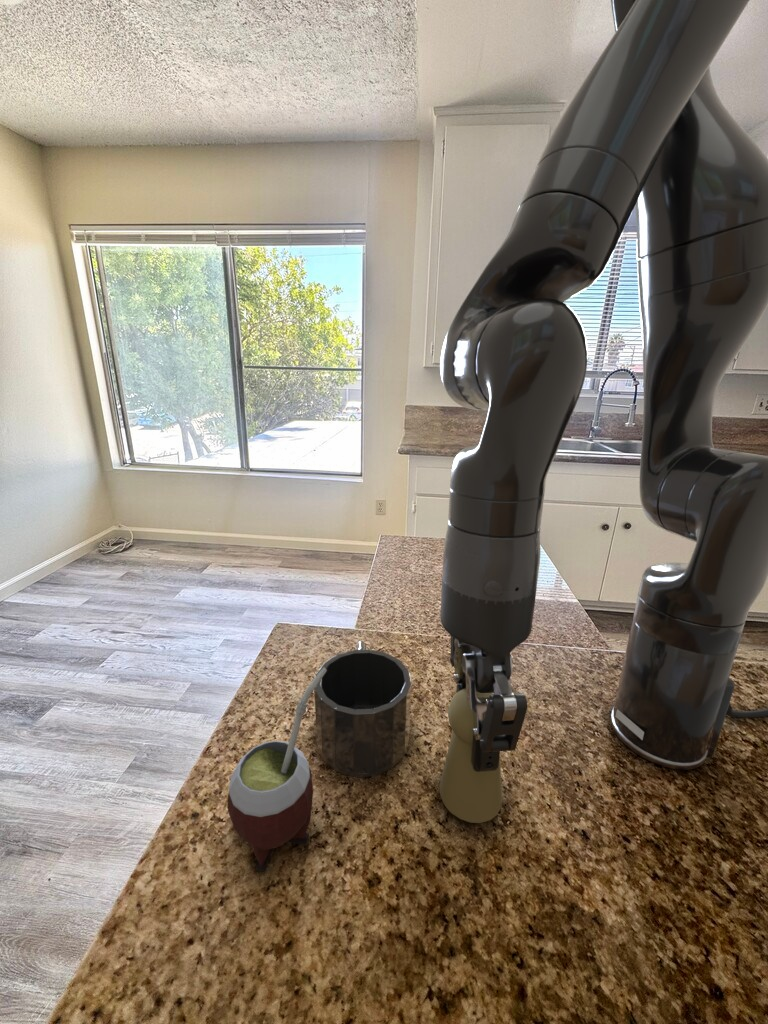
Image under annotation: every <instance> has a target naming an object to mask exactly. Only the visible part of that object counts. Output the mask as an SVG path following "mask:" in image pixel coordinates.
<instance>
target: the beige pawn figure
mask: <svg viewBox="0 0 768 1024" xmlns="http://www.w3.org/2000/svg"><path fill="white" fill-rule="evenodd" d="M490 695H494V693H479V692H477V691H476V697H477V698H480V697H489V696H490ZM485 714H486V712H484V713H483V715H482V718H483V723H484V718H485ZM447 715H448V722H449V726H450V728H451V735H450V740H449V743H448V748H447V753H446V757H445V761H444V765H443V770H442V774H441V778H440V782H439V786H438V787H439V796H440V798H441V800H442V803H443V805H444V806H445V808H447V810H448V811H449V812H450V813H451V814H452V815H454V816H455V817H456V818H458V819H459V820H462V821H465V822H467V823H471V824H472V823H473V824H482V823H485V822H489V821H491V820H492V819H494V818H495V817H496V816H498V814H499V812H500V811H501V808H502V805H503V790H502V789H503V788H502V772H501V771H502V769H501V755H500V756H499V765H498V768H497V769H496V770H495V771H482V772H476V771H475V770H474V769H473V766H472V763H471V756H472V744H473V729H474V728H473V711H472V710H471V709H470V707H469V706H468V705H467V698H466V688H465V689H462V690H460V691H458V692H457V693H456V692H455V694H454V695H453V696H452V697H451V699H450V702H449V705H448V708H447Z"/></svg>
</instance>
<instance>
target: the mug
mask: <svg viewBox="0 0 768 1024" xmlns="http://www.w3.org/2000/svg"><path fill="white" fill-rule="evenodd" d="M323 667H324V668H326V670H327V671H326V673H325V674H324V676H323V677H322V678H321V680H320V681H319V683H318V684H317V686H316V687H315V689H314V690H313V692H314V714H315V738H316V739H315V740H316V745H317V749H318V752H319V755H320V757H321V758H322V760H323V761H324V763H325V764H326V765H328V767H330V768H331V769H333V770H334V771H336V772H337V773H339V774H342V775H345V776H349V777H355V778H368V777H369V778H370V777H374V776H379V775H381V774H384V773H385V772H388V771H389V770H391V769H392V768H394V767H395V766H396V765H397V764H399V762H400V761H402V759H403V757H404V755H405V754H406V752H407V750H408V745H409V740H410V730H411V728H410V727H411V705H412V678H411V674H410V670H409V669H408V668H407V667H406V665H405V664H404V663H403V662H402V661H401V660H400V659H399V658H397V657H396V656H393V655H391V654H390V653H387V652H384V651H380V650H375V649H367V645H366V642H365V641H362V640H359V641H358V642H357V644H356V649H352V650H348V651H344V652H342V653H338V654H335V655H334V656H332V657H331V658H329V659H328V660H326V661H325V662H323V664H321V666H320V668H319V669H318V671H316V673H315V677H316V676H317V675H318V673H319V672H320V671H321V670H322V668H323Z"/></svg>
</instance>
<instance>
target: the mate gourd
mask: <svg viewBox="0 0 768 1024" xmlns="http://www.w3.org/2000/svg"><path fill="white" fill-rule="evenodd" d="M326 671H327V670H326V668H324V667H323V668H322V670H321V671H320V672H319V673H318V675H317V676H316V675H315V676H314V679H313V680H312V681H311V682H310V684H308V686H307V687H306V689H305V691H304V693H303V695H302V696H301V698H300V699H299V700H298V702H297V705H296V708H295V716H294V720H293V725H292V728H291V733H290V736H289V741H283V740H270V741H264V742H262V743H260V744H257V745H256V746H253V747H252V748H251V749H250V750H248V752H247V753H245V754H244V755H243V756H242V757H241V758H240V760H239V762H238V763H237V765H236V766H235V768H234V770H233V772H232V773H231V775H230V779H229V786H228V794H227V801H226V802H227V805H226V806H227V807H226V808H227V811H228V814H229V818H230V820H231V824H232V826H233V828H234V831H235V832H236V833H237V835H238V836H239V837H240V838H241V839H242V840H243V841H244V842H246V843H247V844H248V846H250V847H251V848H252V850H253V853H254V855H255V857H256V859H257V862H256V864H255V867H254V869H255V872H257V873H259V874H264V873H265V872H266V869H267V867H268V866H269V862H270V860H271V857H272V855H273V853H274V850H275V849H276V848H279V847H281V846H282V845H284V844H286V843H291V844H295V845H299V846H307V845H308V844H309V843H308V842H309V840H310V833H309V832H307V831H308V828H309V825H310V822H311V819H312V808H313V807H312V806H313V797H314V785H313V775H312V770H311V767H310V763H309V761H308V759H307V758H306V756H305V754H304V753H303V752H302V751H301V750H300V749H299V748H298V747H296V743H297V738H298V736H299V731H300V727H301V723H302V719H303V716H304V715H305V713H306V711H307V708H308V701H309V699H310V697H311V696H312V694H313V692H314V689H315V687H316V686H317V684H318V683H319V681H320V680H321V678H322V677H323V676H324V674H325V673H326Z"/></svg>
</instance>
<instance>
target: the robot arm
mask: <svg viewBox="0 0 768 1024" xmlns="http://www.w3.org/2000/svg"><path fill="white" fill-rule="evenodd" d="M750 1H751V0H610V6H611V13H612V19H613V26H614V34H613V35H612V37H611V39H610V40H609V41H608V43H607V45H606V46H605V47H604V49H603V51H602V52H601V54H600V55H599V56H598V58H597V59H596V61H595V63H594V64H593V65H592V67H591V69H590V71H589V72H588V74H587V75H586V77H585V78H584V80H583V82H582V83H581V85H580V86H579V87H578V89H577V91H576V92H575V94H574V95H573V97H572V99H571V100H570V102H569V104H568V106H567V107H566V109H565V111H564V112H563V114H562V116H561V117H560V119H559V121H558V122H557V124H556V126H555V128H554V130H553V132H552V133H551V135H550V137H549V139H548V141H547V143H546V145H545V147H544V150H543V152H542V153H541V155H540V158H539V159H538V162H537V164H536V167H535V169H534V172H533V174H532V176H531V178H530V180H529V183H528V186H527V188H526V190H525V193H524V194H523V197H522V200H521V202H520V203H519V206H518V208H517V211H516V214H515V216H514V218H513V221H512V224H511V226H510V229H509V231H508V233H507V235H506V236H505V239H504V240H503V242H502V243H501V245H500V246H499V248H498V249H497V250H496V252H495V253H494V255H493V256H492V257H491V258H490V260H489V261H488V263H487V265H486V266H485V267H484V269H483V271H482V272H481V273H480V275H479V277H478V278H477V279H476V281H475V283H474V285H473V286H472V288H471V289H470V291H469V292H468V293H467V295H466V297H465V299H463V302H462V304H461V305H460V307H459V308H458V310H457V312H456V314H455V315H454V318H453V319H452V321H451V323H450V325H449V327H448V329H447V332H446V335H445V338H444V341H443V344H442V348H441V352H440V353H441V354H440V362H439V371H440V378H441V382H442V383H441V384H442V385H443V388H444V390H445V392H446V394H447V395H448V396H449V398H450V399H451V400H452V401H453V402H454V403H455V404H457V405H459V406H461V407H462V408H466V409H468V410H473V411H480V412H481V411H482V412H487V416H486V420H485V423H484V426H483V430H482V434H481V437H480V438H479V442H478V444H477V443H476V444H473V445H469V446H466V447H465V448H462V449H461V450H460V451H459V452H457V453H456V455H455V456H454V459H453V461H452V465H451V470H450V478H449V479H450V480H449V501H448V520H447V528H446V533H445V537H444V543H443V550H442V551H443V554H442V572H441V573H442V575H441V591H440V609H439V610H440V612H439V613H440V614H439V618H440V623H441V625H442V628H443V629H444V630H445V631H446V632H447V633H448V634H449V635H450V657H449V662H450V665H451V667H453V668H454V671H453V672H454V674H453V680H454V682H455V684H456V689H455V690H456V691H455V694H456V693H457V692H458V691H460V690H462V689H465V688H466V698H467V705H468V706H469V707H470V709H471V710H472V711H473V728H474V729H473V744H472V756H471V763H472V766H473V769H474V770H475V771H476V772H482V771H495V770H496V769H497V768H498V765H499V756H500V757H501V752H509V751H510V752H511V751H512V752H513V751H516V748H517V746H518V740H519V738H520V734H521V732H522V728H523V725H524V721H525V719H526V714H527V710H528V700H527V697H526V695H525V694H524V693H523V692H520V693H519V692H518V693H514V692H513V689H512V688H511V676H512V674H513V672H514V670H513V657H512V654H511V652H513V650H515V648H517V647H518V646H520V645H521V644H522V643H524V642H525V641H527V639H528V638H529V637H530V635H531V633H532V631H533V630H532V629H533V621H534V612H535V605H536V597H537V590H538V589H537V588H538V581H539V580H538V579H539V572H540V564H541V526H542V519H543V509H544V500H545V492H546V482H547V476H548V474H549V472H550V469H551V466H552V464H553V462H554V459H555V458H556V455H557V454H558V450H559V449H560V445H561V443H562V440H563V438H564V435H565V432H566V430H567V427H568V425H569V423H570V421H571V418H572V416H573V414H574V411H575V408H576V406H577V403H578V401H579V399H580V395H581V393H582V390H583V387H584V384H585V380H586V375H587V369H588V359H589V358H588V356H589V355H588V342H587V338H586V333H585V329H584V327H583V325H582V322H581V320H580V317H578V315H577V314H576V312H575V311H574V310H573V309H572V308H571V307H570V306H569V305H567V304H566V303H565V302H566V301H568V300H569V299H571V298H573V297H575V296H577V295H578V294H580V293H582V292H583V291H585V290H587V289H588V288H589V287H592V286H593V284H594V283H596V282H597V280H599V278H600V277H601V276H602V274H603V273H604V271H605V269H606V267H607V266H608V264H609V263H610V261H611V259H612V256H613V254H614V252H615V250H616V248H617V246H618V243H619V242H620V239H621V237H622V235H623V233H624V231H625V228H626V226H627V225H628V222H629V220H630V218H631V216H632V213H633V211H634V209H635V221H636V260H637V261H636V265H637V286H638V303H639V312H640V322H641V323H640V325H641V340H642V342H641V343H642V380H643V381H642V383H643V416H642V417H643V418H642V433H641V434H642V435H641V446H640V447H641V448H640V464H639V483H638V485H639V486H638V487H639V488H638V489H639V499H640V500H639V501H640V505H641V508H642V510H643V513H644V515H645V517H646V518H647V520H648V521H649V522H650V523H651V524H653V525H654V526H656V527H657V528H659V529H661V530H664V531H666V532H667V533H670V534H673V535H676V536H678V537H681V538H683V539H686V540H688V541H691V542H694V543H695V546H694V549H693V551H692V554H691V557H690V559H689V561H688V562H660V563H655V564H651V565H649V566H648V567H646V568H645V570H644V571H643V572H642V574H641V578H640V582H639V586H638V592H637V596H636V601H635V606H634V610H633V616H632V621H631V624H630V630H629V635H628V639H627V644H626V649H625V654H624V659H623V663H622V668H621V672H620V677H619V681H618V687H617V691H616V696H615V700H614V705H613V707H612V710H611V714H610V725H611V728H612V730H613V732H614V733H615V735H616V736H617V738H618V739H619V740H620V741H621V742H622V743H623V745H625V746H626V747H627V748H628V749H629V750H631V751H632V752H634V753H635V754H636V755H638V756H640V757H641V758H642V759H644V760H647V761H649V762H651V763H653V764H656V765H658V766H661V767H665V768H668V769H672V770H678V771H679V770H680V771H688V770H694V769H697V768H700V767H702V765H703V764H704V763H705V762H706V759H707V756H714V755H715V752H716V749H717V745H718V743H719V738H720V735H721V733H722V729H723V725H724V722H725V720H726V716H728V717H732V718H738V719H749V718H750V719H751V718H753V719H755V718H766V717H768V708H764V709H758V710H757V709H756V710H745V711H744V710H733V708H732V704H731V700H732V696H733V694H734V691H735V685H736V684H735V682H734V680H733V679H732V678H731V677H730V675H731V672H732V669H733V665H734V662H735V658H736V654H737V651H738V648H739V644H740V641H741V637H742V635H743V631H744V627H745V625H746V621H747V619H748V614H749V612H750V610H751V607H752V606H753V605H754V603H755V601H756V600H757V598H758V597H759V595H760V594H761V592H762V591H763V590H764V587H765V585H766V583H767V580H768V455H764V454H763V455H762V454H756V453H750V452H743V451H737V450H731V449H723V448H716V447H715V446H714V442H713V412H714V404H715V400H716V395H717V393H718V389H719V386H720V384H721V382H722V380H723V378H724V376H725V374H726V373H727V371H728V370H729V368H730V366H731V365H732V363H733V362H734V360H735V359H736V357H737V356H738V354H739V353H740V352H741V350H742V348H743V347H744V345H745V344H746V343H747V341H748V340H749V338H750V337H751V335H752V334H753V332H754V330H755V329H756V327H757V325H758V324H759V323H760V321H761V319H762V317H763V316H764V314H765V312H766V310H767V308H768V157H767V156H766V154H765V153H764V152H763V151H762V149H761V148H760V146H759V144H758V143H756V142H755V140H753V138H752V137H751V135H750V134H748V132H747V131H746V130H745V129H744V128H743V127H742V125H740V123H738V121H737V120H736V119H735V118H734V116H733V115H732V114H731V113H730V112H729V111H728V108H727V107H726V106H725V105H724V103H723V102H722V100H721V99H720V96H719V95H718V93H717V91H716V88H715V86H714V82H713V78H712V74H711V67H710V65H711V64H712V63H713V61H714V59H715V57H716V56H717V54H718V53H719V51H720V49H721V48H722V46H723V44H724V43H725V41H726V39H727V38H728V37H729V35H730V33H731V32H732V30H733V28H734V26H735V25H736V23H737V22H738V20H739V18H740V17H741V16H742V14H743V12H744V11H745V9H746V7H747V5H748V4H749V2H750ZM476 691H477V692H479V693H493V694H494V695H490V696H489V697H480V698H477V697H476ZM484 712H486V714H485V718H484V723H483V718H482V715H483V713H484Z"/></svg>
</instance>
